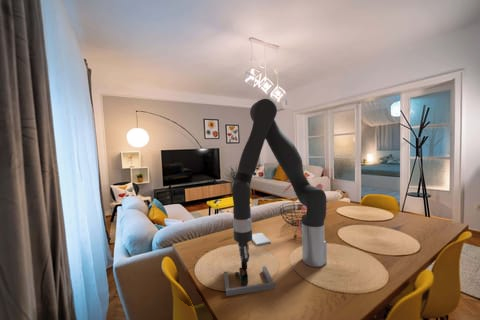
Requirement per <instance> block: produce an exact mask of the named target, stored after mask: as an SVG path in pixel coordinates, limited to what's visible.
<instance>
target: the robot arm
mask: <svg viewBox="0 0 480 320" xmlns="http://www.w3.org/2000/svg"><path fill="white" fill-rule="evenodd" d="M277 112H278V108H277V104H276V103H275V101H274V100H272V99H270V98H262V99H260V100H258V101H256V102H255V103H253V104H252V105H251V108H250V110H249V114H250V118H251V120H252V122H253V123H252V128H251V130H250V134H249V136H248V139H247V141H246V143H245V145H244V147H243V150H242V153H241V155H240V160H239V162H238V167H237V171H236V175H235V177H234V180H233V182H232V188H231V190H232V191H231V192H232V193H231V194H232V202H233V203H232V204H233V208H232V209H233V210H232V212H233V220H232V221H233V222H232V227H233V240H234V242H236V243H237V246H238V253H239V256H240V261H241V262H240V264H241V267H240V268H242V267H246V270H248V262H249V260H250V252H249V249H250V244H249V242H250V241H252V234H253V223H252V216H251V215H252V213H251V212H252V211H251V209H252V208H251V204H250V203H251V187H250V186H251V182H252V180H253V176H254V174H255V172H256V170H257V167H258V163H259V159H260V156H261V153H262V149H263V146H264V143H265V141H266V142H267V144H268V146H269V148H270V150H271V152H272V153H273V156H274V157H275V159H276V161H277V163H278V164H279V165H278V166H280V168H281V170H282V171H283V172H284V174H285V176H286V178H287V179H288V181H289V183H290V185H291V184H292V186H291V188H292V189H293V192H294V191H295V192H294V193H295V195H296V198H297V200H298V201H299V202H300V204H302V206H303V205H304V206H305V207H306V209H307V210H306V213H304V214H302V216H301V230H302V233H301V241H302V242H301V243H302V244H301V247H302V250H301V251H302V254H301V257H302V262H303V263H304V264H305V265H307V266H309V267H313V268H319V267H321V268H322V267H323V266H325V265H326V264H327V263H328V257H327V256H328V254H327V253H328V252H327V251H328V249H327V247H328V246H327V241H326V240H325V221H326V220H325V219H326V217H327V202H328V201H327V196H326V193H325V191H324V190H323V188H322V189H320V188H317V187H316V186H312V184H310V182H309V180H308V178H307V179H306V177H305V175H306V174H304V170H303V169H304V168H303V167H304V165H303V160H302V157H301V154H300V152H299V150H297V147H296V146H295V144H294V143H293V142H292V140H290V138H289V137H288V136H287V135H286V134H285V133H284V132H283V131H282V130H281V128H280V126H279V125H278V124H277V121H276V120H275V119H276V116H277V114H278V113H277ZM307 180H308V181H307Z"/></svg>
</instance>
